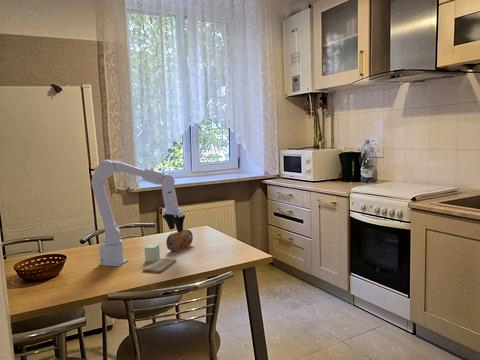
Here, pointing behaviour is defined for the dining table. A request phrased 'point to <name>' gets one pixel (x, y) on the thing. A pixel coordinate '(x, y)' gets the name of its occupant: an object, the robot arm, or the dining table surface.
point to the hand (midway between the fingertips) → (176, 230)
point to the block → (152, 252)
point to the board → (159, 265)
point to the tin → (179, 240)
